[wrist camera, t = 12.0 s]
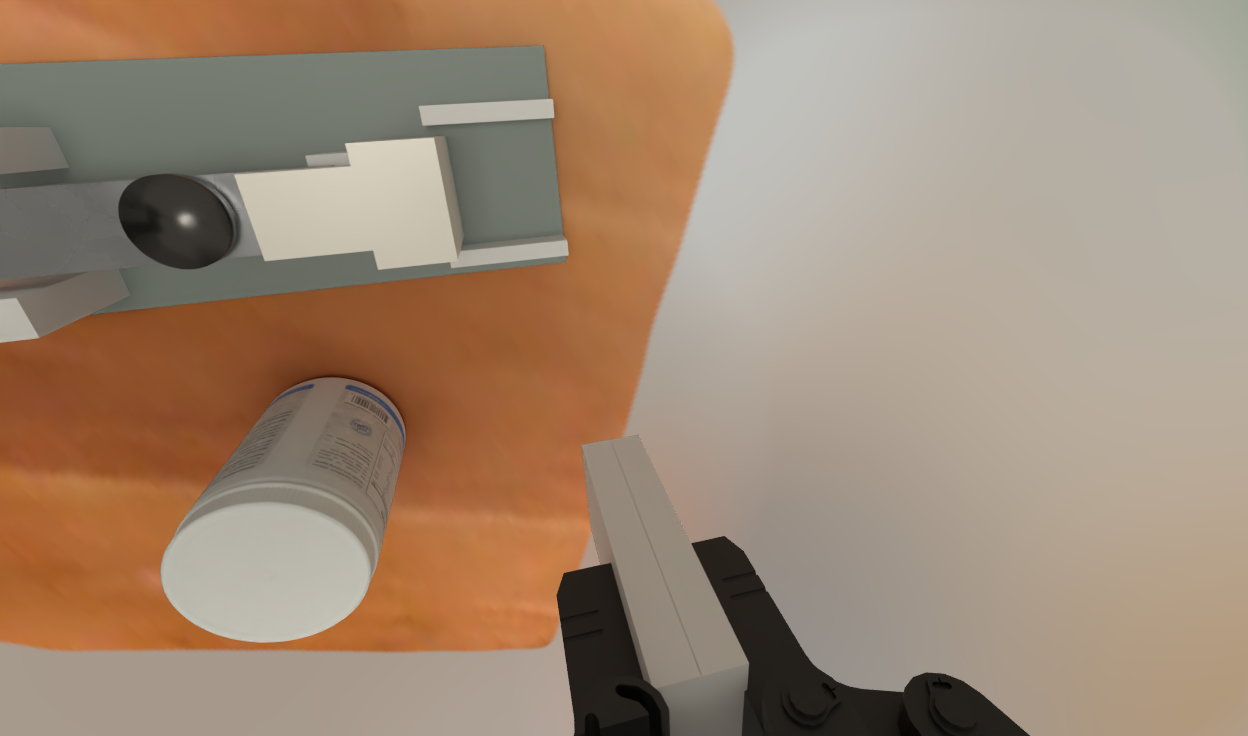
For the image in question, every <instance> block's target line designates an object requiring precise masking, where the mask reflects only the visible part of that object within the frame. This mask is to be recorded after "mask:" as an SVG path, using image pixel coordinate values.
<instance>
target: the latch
mask: <svg viewBox="0 0 1248 736" xmlns="http://www.w3.org/2000/svg"><path fill="white" fill-rule="evenodd" d="M345 146H346V150H347V153H348V157H349V161H350V165H346V166H332V167H318V168H304V169H290V170H276V171H262V172H248V173H241V174H235V175H234V176H235V179H236V182H237V184H238V187H239V190H240V193H241V196H242V198H243V201H244V204H245V207H246V210H247V212H248V215H249V218H250V221H251V224H252V227H253V229H254V232H255V235H256V238H257V241H258V243H259V246H260V249H261V252H262V255H263V257H264V260H265V261H273V260H283V259H293V258H303V257H313V256H323V255H333V254H343V253H353V252H363V251H373V252H374V256H375V260H376V264H377V267H378V270H381V269H390V268H400V267H409V266H419V265H428V264H437V263H447V262H456V261H458V259H459V255H460V251H461V247H462V242H463V238H464V232H463V226H462V221H461V216H460V210H459V205H458V199H457V194H456V189H455V183H454V178H453V173H452V167H451V162H450V156H449V151H448V146H447V140H446V136H432V137H416V138H400V139H385V140H372V141H363V142H353V143H345Z"/></svg>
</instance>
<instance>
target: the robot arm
mask: <svg viewBox="0 0 1248 736" xmlns="http://www.w3.org/2000/svg"><path fill="white" fill-rule="evenodd" d="M582 452H583V461H584V470H585V479H586V489H587V498H588V507H589V516H590V525H591V530H592V534H593V538H594V542H595V546H596V550H597V554H598V558H599V562H600V565H598V566H594V567H589V568H585V569H580V570H576V571H571V572H567V573H564V574H563V577H562V580H561V583H560V587H559V590H558V593H557V601H558V608H559V615H560V622H561V629H562V636H563V642H564V649H565V657H566V664H567V671H568V678H569V685H570V691H571V699H572V706H573V713H574V722H575V723H574V726H575V733H574V736H1030V735H1028V734H1027V733H1026V732H1025V731H1024V730H1023V729H1021V728H1020V727H1019V726H1018V725H1017V724H1015V722H1013V721H1012V720H1011V719H1010V718H1009V717H1008V716H1007V715H1005V714H1004V713H1003V712H1002V711H1001V710H1000V709H998V708H997V707H996V706H995V705H994V704H992V703H991V702H990V701H989V700H988V699H987V698H986V697H985V696H983V695H982V694H981V693H980V692H978V691H977V690H975V689H974V688H972V687H971V686H969V685H968V684H966V683H965V682H964V681H961V680H959V679H956V678H954V677H951V676H948V675H946V674H940V673H924V674H921V675H918V676H915V677H913V678H912V679H911V681H910V682H909V683H908V684H907V686H906V687H905V689H904V692H893V691H880V690H867V689H859V688H854V687H849V686H846V685H844V684H841V683H839V682H836V681H835V680H834V679H833V678H832V677H830V676H829V675H827V674H825V673H824V672H822V671H821V670H819V669H818V668H817V667H815V666H814V665H813V664H812V662H811V661H810V660H809V658H808V657H807V656H806V654H805V653H804V651H803V649H802V648H801V647H800V644H799V643H798V641H797V639H796V638H795V636H794V634H793V633H792V631H791V629H790V628H789V626H788V624H787V623H786V621H785V619H784V618H783V616H782V614H781V613H780V611H779V609H778V608H777V606H776V604H775V603H774V601H773V599H772V598H771V596H770V595H769V593H768V592H766V589H765V586H764V584H763V583H762V581H761V579H760V578H759V576H758V575H756V572H755V570H754V568H753V566H752V565H751V563H750V561H749V559H748V558H747V556H746V555H745V553H744V551H743V550H741V549H740V548H739V547H737V546H736V545H735V544H734V543H732V542H731V541H730V540H728V539H727V538H726V537H725V536H722V537H718V538H713V539H709V540H705V541H700V542H695V543H691V542H690V541H689V538H688V536H687V535H686V532H685V530H684V528H683V526H682V524H681V522H680V520H679V518H678V516H677V514H676V511H675V509H674V507H673V505H672V503H671V501H670V499H669V497H668V495H667V493H666V491H665V489H664V487H663V485H662V483H661V481H660V478H659V477H658V474H657V472H656V470H655V468H654V466H653V464H652V462H651V460H650V458H649V456H648V454H647V452H646V450H645V448H644V446H643V443H642V442H641V439H640V437H639V435H635V436H629V437H623V438H617V439H612V440H606V441H600V442H595V443H589V444H584V445H582Z"/></svg>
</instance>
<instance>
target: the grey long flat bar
mask: <svg viewBox="0 0 1248 736" xmlns="http://www.w3.org/2000/svg"><path fill="white" fill-rule="evenodd" d="M332 166H335V165H322V166H307V167H293V168H279V169H265V170H250V171H236V172H222V173H207V174H193V175H184V174H179V173H164V174H156V175H149V176H145V177H141V178H136V179H121V180H107V181H93V182H79V183H64V184H50V185H36V186H21V187H7V188H0V280H3V279H14V278H25V277H35V276H46V275H56V274H67V273H77V272H88V271H99V270H109V269H120V268H130V267H141V266H152V265H162V264H163V265H166V266H169V267H173V268H178V269H187V270H189V269H199V268H203V267H206V266H209V265H211V264H213V263H215V262H217V261H219V260H221V259H226V258H236V257H247V256H258V255H262V252H261V249H260V246H259V243H258V241H257V238H256V235H255V232H254V229H253V227H252V224H251V221H250V218H249V215H248V212H247V210H246V207H245V204H244V201H243V198H242V196H241V193H240V190H239V187H238V184H237V182H236V179H235V176H234V175H235V174H241V173H248V172H262V171H276V170H290V169H304V168H318V167H332Z"/></svg>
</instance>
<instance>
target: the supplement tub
mask: <svg viewBox="0 0 1248 736" xmlns="http://www.w3.org/2000/svg"><path fill="white" fill-rule="evenodd" d="M405 442H406V432H405V426H404V422H403V419H402V417H401V415H400V413H399V411H398V410H397V408H396V407H395V406H394V404H393V403H392V402H391V401H390V400H389V399H388V398H387V397H386V396H385V395H383V394H382V393H381V392H379V391H378V390H376V389H374V388H372V387H370V386H368V385H366V384H364V383H361V382H358V381H355V380H351V379H345V378H336V377H330V378H318V379H313V380H309V381H306V382H303V383H300V384H297V385H295V386H293V387H291V388H289V389H287V390H286V391H284V392H283V393H281V394H280V395H279V396H278V397H277V398H276V399H275V400H274V401H273V402H272V403H271V404H270V405H269V407H268V408H267V409H266V410H265V412H264V413H263V414H262V416H261V417H260V418H259V419H258V421H257V422H256V424H255V425H254V426H253V428H252V429H251V430H250V431H249V433H248V434H247V435H246V437H245V438H244V439H243V441H242V442H241V443H240V445H239V446H238V447H237V449H236V450H235V451H234V453H233V454H232V455H231V457H230V458H229V459H228V460H227V462H226V463H225V464H224V466H223V467H222V468H221V470H220V471H219V472H218V474H217V475H216V476H215V477H214V479H213V480H212V481H211V483H210V484H209V485H208V487H207V488H206V489H205V491H204V492H203V493H202V495H201V496H200V497H199V498H198V500H197V501H196V502H195V504H194V505H193V507H192V508H191V509H190V511H189V512H188V513H187V515H186V516H185V518H184V519H183V521H182V522H181V523H180V525H179V527H178V528H177V530H176V532H175V535H174V537H173V539H172V540H171V542H170V543H169V545H168V547H167V549H166V551H165V553H164V556H163V559H162V563H161V582H162V586H163V589H164V591H165V594H166V596H167V597H168V599H169V601H170V602H171V603H172V605H173V606H174V607H175V608H176V609H177V611H178V612H180V613H181V614H182V615H183V616H184V617H185V618H187V619H188V620H189V621H191V622H192V623H194V624H195V625H197V626H199V627H201V628H203V629H205V630H207V631H209V632H212V633H214V634H217V635H220V636H223V637H227V638H231V639H235V640H241V641H248V642H282V641H289V640H295V639H299V638H303V637H307V636H310V635H314V634H316V633H319V632H321V631H324V630H326V629H328V628H330V627H332V626H333V625H335V624H337V623H338V622H340V621H341V620H343V619H344V618H346V617H347V616H348V615H349V614H350V613H351V612H352V611H353V610H354V609H355V608H356V607H357V606H358V605H359V604H360V602H361V601H362V599H363V598H364V596H365V594H366V592H367V589H368V587H369V584H370V581H371V578H372V576H373V574H374V572H375V569H376V566H377V562H378V558H379V555H380V551H381V547H382V543H383V538H384V534H385V530H386V526H387V521H388V517H389V513H390V509H391V505H392V500H393V496H394V492H395V487H396V483H397V479H398V474H399V470H400V466H401V461H402V457H403V452H404V448H405Z"/></svg>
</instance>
